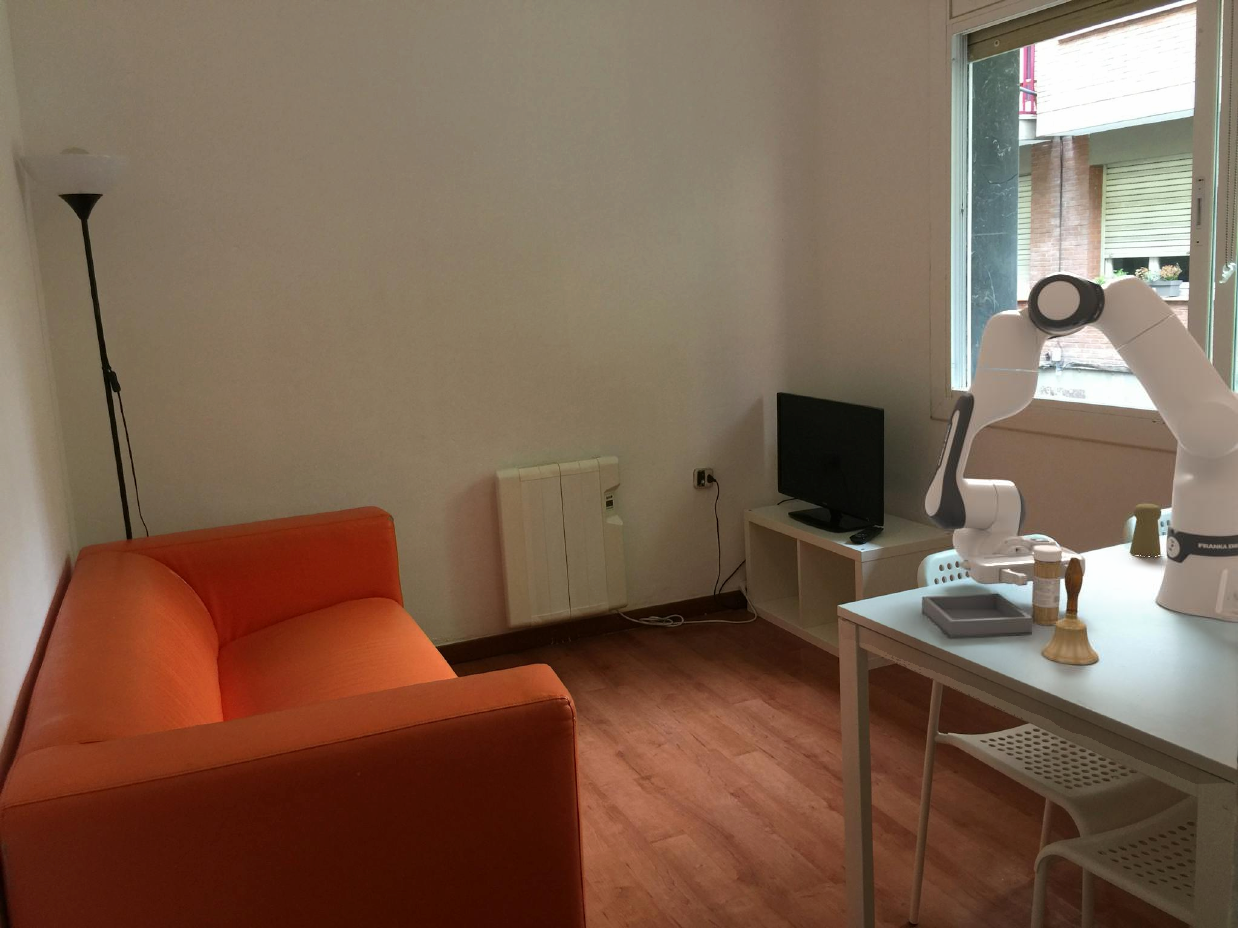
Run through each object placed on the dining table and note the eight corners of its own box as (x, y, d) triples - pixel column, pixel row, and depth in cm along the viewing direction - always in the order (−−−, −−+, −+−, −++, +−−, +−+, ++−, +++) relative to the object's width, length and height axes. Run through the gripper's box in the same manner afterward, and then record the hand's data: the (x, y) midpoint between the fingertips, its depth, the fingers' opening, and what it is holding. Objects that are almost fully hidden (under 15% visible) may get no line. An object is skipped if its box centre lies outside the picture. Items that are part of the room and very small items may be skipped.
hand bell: (1045, 643, 161) (1048, 549, 158) (1101, 651, 157) (1105, 554, 154) (1037, 660, 154) (1041, 562, 151) (1096, 668, 150) (1101, 568, 147)
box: (997, 609, 179) (998, 593, 178) (1032, 634, 165) (1032, 617, 164) (921, 612, 178) (922, 596, 178) (950, 638, 164) (950, 621, 164)
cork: (1166, 557, 209) (1169, 506, 207) (1138, 558, 209) (1140, 507, 207) (1152, 550, 215) (1154, 501, 213) (1124, 550, 215) (1126, 501, 213)
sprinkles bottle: (1043, 616, 174) (1046, 543, 172) (1064, 623, 170) (1068, 548, 168) (1024, 620, 172) (1027, 546, 170) (1046, 628, 168) (1049, 552, 166)
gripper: (955, 546, 181) (993, 565, 167) (1059, 538, 183) (1104, 557, 169) (955, 579, 182) (992, 601, 168) (1058, 571, 184) (1103, 592, 170)
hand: (1049, 579), depth 169 cm, fingers open, 8 cm apart
